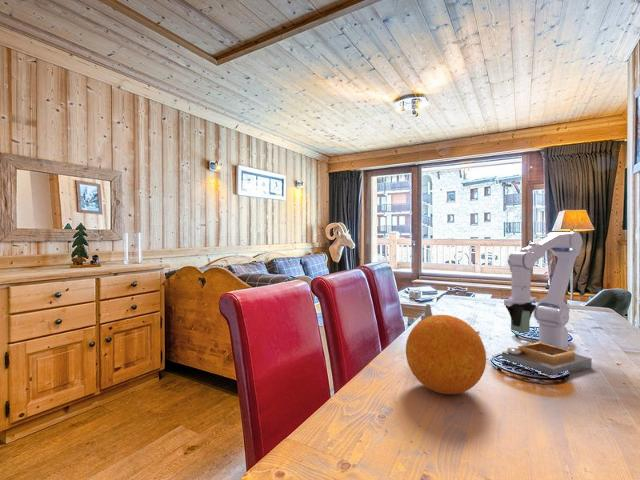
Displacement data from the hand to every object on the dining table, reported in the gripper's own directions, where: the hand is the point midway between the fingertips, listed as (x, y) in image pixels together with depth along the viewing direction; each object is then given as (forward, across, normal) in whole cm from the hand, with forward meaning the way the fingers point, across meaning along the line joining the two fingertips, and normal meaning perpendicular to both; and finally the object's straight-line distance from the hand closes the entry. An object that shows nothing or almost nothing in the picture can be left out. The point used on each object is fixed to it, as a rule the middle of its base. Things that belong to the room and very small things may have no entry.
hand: (520, 325), depth 118 cm
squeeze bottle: (+11, +31, -11) cm, 35 cm away
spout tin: (+2, 0, 0) cm, 2 cm away
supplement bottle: (+11, +14, -8) cm, 19 cm away
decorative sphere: (+11, +45, +10) cm, 47 cm away
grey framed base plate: (+10, +1, +9) cm, 14 cm away
